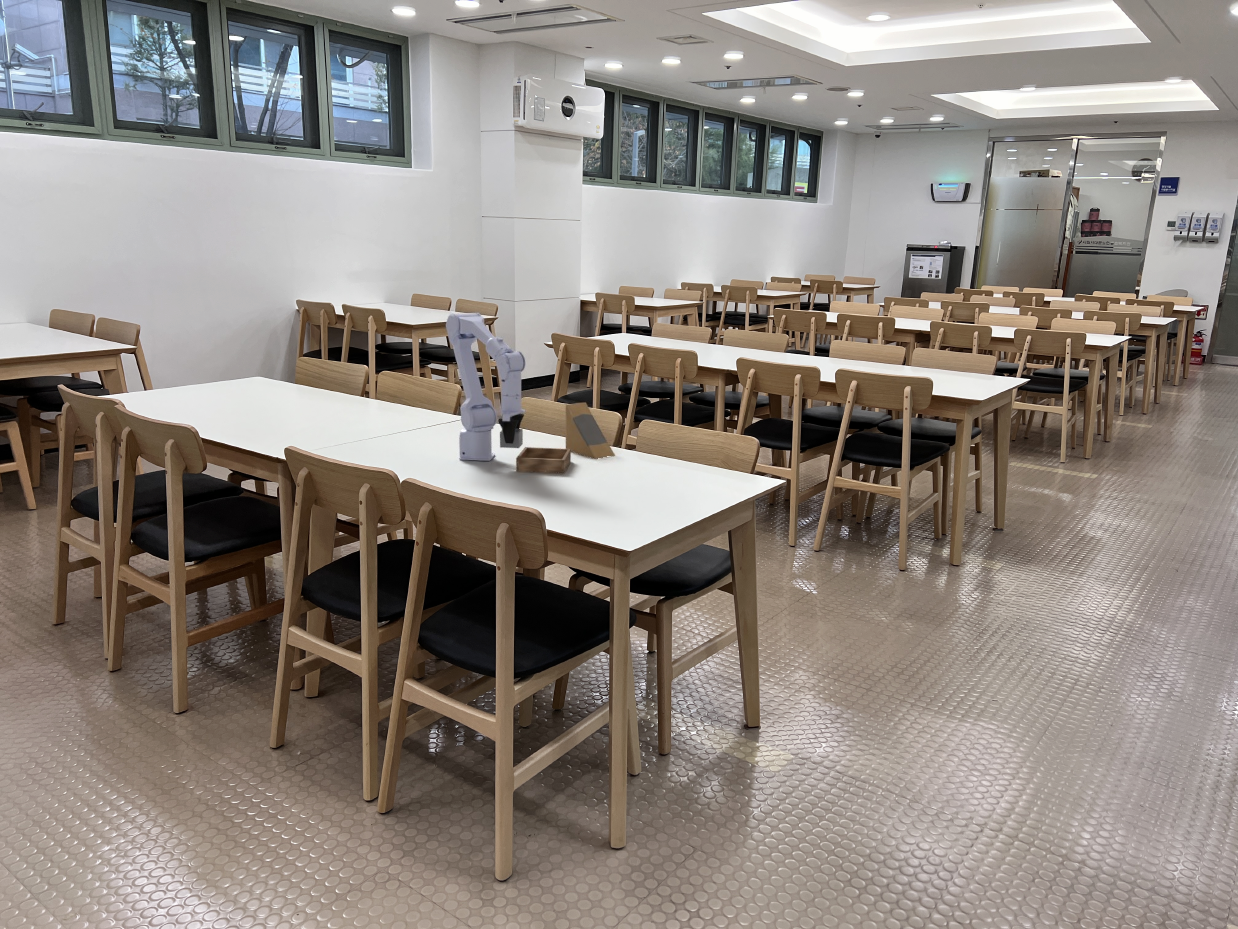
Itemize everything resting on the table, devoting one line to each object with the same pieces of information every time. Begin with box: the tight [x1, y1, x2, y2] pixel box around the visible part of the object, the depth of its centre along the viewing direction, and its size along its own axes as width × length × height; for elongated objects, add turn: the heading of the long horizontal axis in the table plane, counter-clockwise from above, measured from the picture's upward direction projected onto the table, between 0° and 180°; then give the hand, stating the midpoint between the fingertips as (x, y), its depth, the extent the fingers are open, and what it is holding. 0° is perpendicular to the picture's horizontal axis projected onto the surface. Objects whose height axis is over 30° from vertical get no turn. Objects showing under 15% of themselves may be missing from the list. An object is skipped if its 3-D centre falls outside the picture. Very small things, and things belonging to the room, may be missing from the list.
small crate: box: [499, 428, 524, 449], centre depth 252 cm, size 6×6×4 cm
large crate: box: [515, 446, 572, 475], centre depth 258 cm, size 14×14×4 cm
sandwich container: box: [565, 401, 616, 460], centre depth 275 cm, size 9×15×15 cm, turn 43°
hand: (511, 440), depth 252 cm, fingers closed on small crate, 5 cm apart
